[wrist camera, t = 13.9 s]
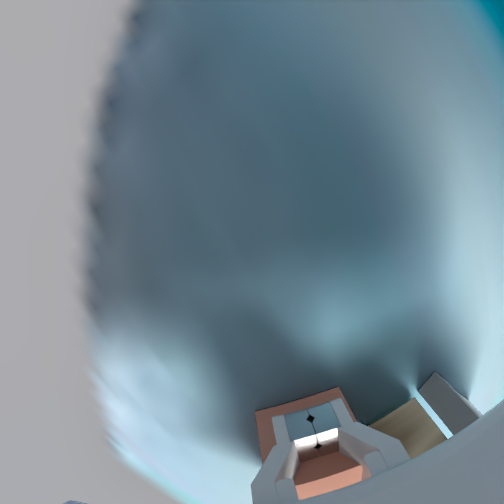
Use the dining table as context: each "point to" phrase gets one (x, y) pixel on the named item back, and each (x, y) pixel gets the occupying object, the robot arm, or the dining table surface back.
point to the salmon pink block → (318, 469)
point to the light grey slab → (448, 404)
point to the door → (411, 428)
